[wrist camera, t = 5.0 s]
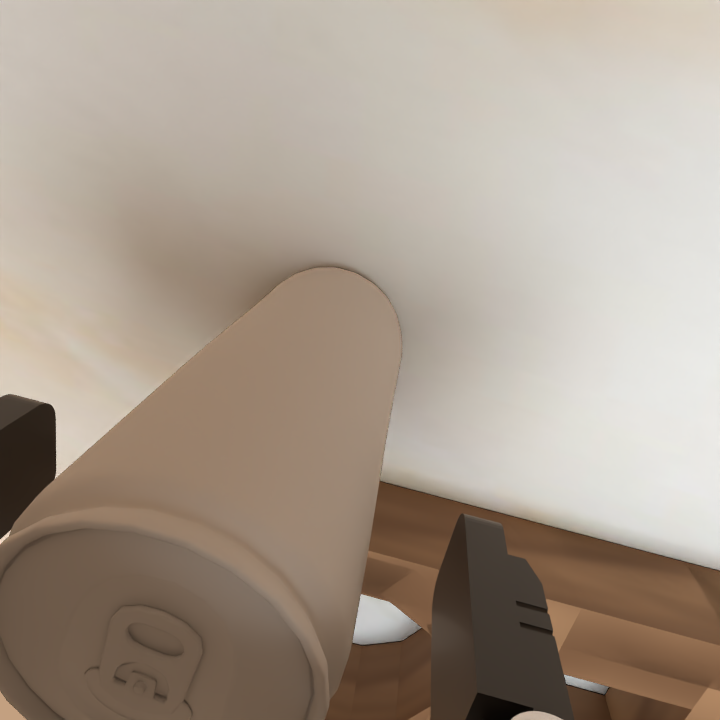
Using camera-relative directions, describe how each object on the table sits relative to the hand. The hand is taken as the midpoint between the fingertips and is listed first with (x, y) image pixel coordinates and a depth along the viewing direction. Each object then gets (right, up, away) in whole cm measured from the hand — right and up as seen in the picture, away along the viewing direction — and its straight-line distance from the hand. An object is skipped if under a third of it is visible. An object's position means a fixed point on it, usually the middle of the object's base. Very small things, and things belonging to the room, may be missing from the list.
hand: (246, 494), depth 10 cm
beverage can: (+1, +3, +7) cm, 8 cm away
